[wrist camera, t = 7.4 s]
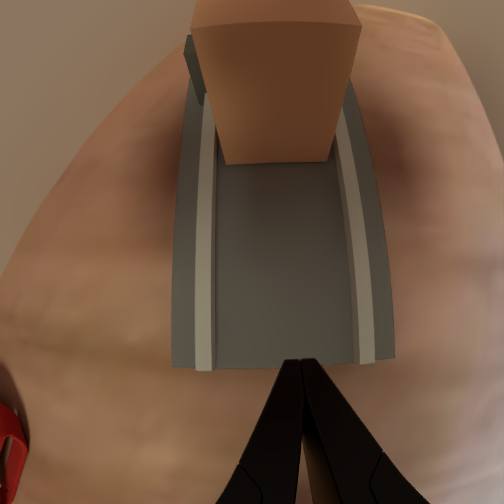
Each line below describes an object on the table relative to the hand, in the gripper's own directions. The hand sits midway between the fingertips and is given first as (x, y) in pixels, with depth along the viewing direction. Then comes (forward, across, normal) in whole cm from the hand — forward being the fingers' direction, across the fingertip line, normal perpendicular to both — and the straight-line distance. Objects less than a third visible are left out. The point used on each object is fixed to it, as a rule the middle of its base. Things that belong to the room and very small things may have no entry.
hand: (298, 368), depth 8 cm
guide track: (+13, 0, 0) cm, 13 cm away
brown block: (+15, 0, -4) cm, 15 cm away
